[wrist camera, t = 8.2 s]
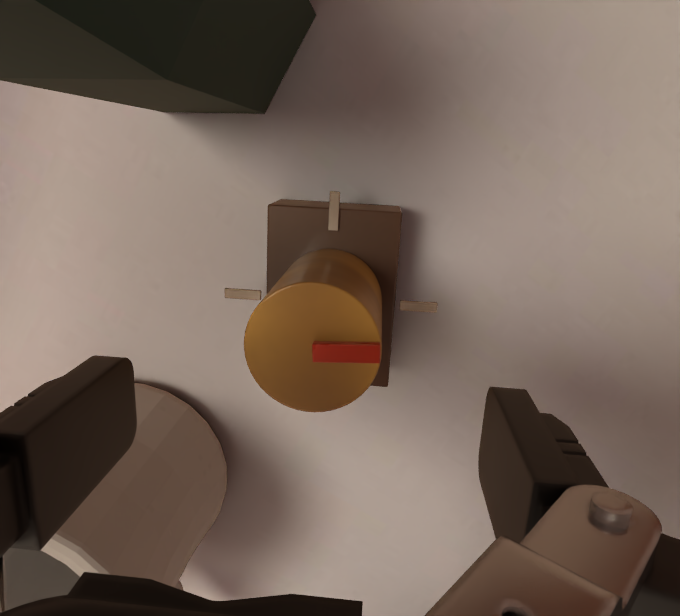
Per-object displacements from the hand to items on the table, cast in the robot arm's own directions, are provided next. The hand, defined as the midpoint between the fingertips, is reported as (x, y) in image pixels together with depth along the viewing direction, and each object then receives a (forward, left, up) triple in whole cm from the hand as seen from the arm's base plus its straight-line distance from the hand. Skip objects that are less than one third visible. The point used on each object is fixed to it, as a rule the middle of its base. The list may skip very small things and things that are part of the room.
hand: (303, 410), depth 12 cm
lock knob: (0, 0, -9) cm, 9 cm away
